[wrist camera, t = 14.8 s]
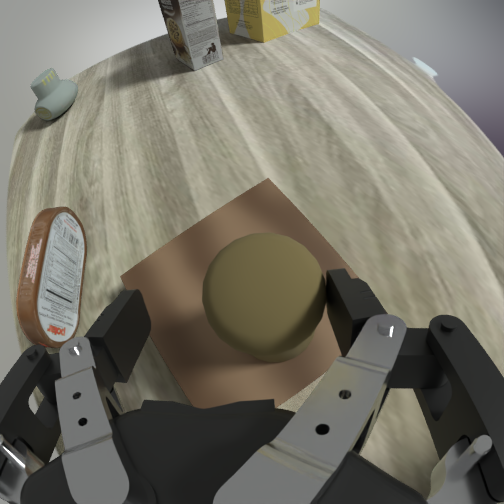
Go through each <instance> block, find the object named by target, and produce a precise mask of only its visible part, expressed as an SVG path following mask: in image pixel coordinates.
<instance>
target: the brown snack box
mask: <svg viewBox="0 0 504 504" xmlns="http://www.w3.org/2000/svg"><path fill="white" fill-rule="evenodd" d="M158 2H159V5H160V8H161V11H162V15H163V17H164V21H165V24H166V28H167V31H168V34H169V38H170V41H171V44H172V47H173V50H174V53H175V57H176V58H177V59H178V60H180V61H181V62H182V63H184V64H185V65H187V66H188V67H190V68H191V69H193V70H194V71H196V70H198V69H200V68H203V67H205V66H207V65H210V64H212V63H215V62H217V61H220V60H222V59H223V53H222V48H221V42H220V36H219V31H218V25H217V19H216V14H215V8H214V3H213V0H158Z"/></svg>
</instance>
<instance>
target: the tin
mask: <svg viewBox="0 0 504 504" xmlns="http://www.w3.org/2000/svg"><path fill="white" fill-rule="evenodd" d="M86 255H87V244H86V236H85V231H84V228H83V225H82V223H81V221H80V220H79V218H78V217H77V216H76V214H75V213H74V212H73V211H72V210H71V209H69V208H68V207H56V208H47V209H44V210H42V211H41V212H40V213H39V214H38V215H37V216H36V217H35V219H34V221H33V223H32V226H31V229H30V233H29V237H28V241H27V245H26V249H25V254H24V258H23V263H22V268H21V273H20V278H19V284H18V290H17V297H16V308H17V316H18V320H19V323H20V326H21V328H22V330H23V332H24V334H25V335H26V337H27V338H28V339H29V340H30V341H31V342H32V343H33V344H35V345H43V346H44V347H51V348H60V347H62V346H63V345H64V344H65V343H66V342H67V341H69V340H70V339H73V338H74V336H75V334H76V331H77V328H78V325H79V318H80V305H81V295H82V286H83V277H84V270H85V263H86Z"/></svg>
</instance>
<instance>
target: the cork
mask: <svg viewBox="0 0 504 504" xmlns="http://www.w3.org/2000/svg"><path fill="white" fill-rule="evenodd" d="M326 301H327V292H326V280H325V277H324V275H323V273H322V270H321V268H320V266H319V264H318V262H317V260H316V259H315V257H314V256H313V255H312V254H311V253H310V252H309V251H308V250H307V248H306V247H305V246H304V245H302V244H300V243H298V242H297V241H295V240H293V239H292V238H290V237H288V236H284V235H279V234H275V233H271V232H268V233H253V234H249V235H247V236H244V237H241V238H238V239H236V240H234V241H232V242H231V243H230V244H228V245H227V246H226V247H224V248H223V249H222V250H220V251H219V253H218V254H217V255H216V257H215V258H214V259H213V261H212V262H211V263H210V265H209V267H208V269H207V272H206V275H205V278H204V280H203V289H202V303H203V306H204V310H205V313H206V317H207V320H208V323H209V324H210V326H211V327H212V328H213V330H214V331H215V333H216V334H217V336H218V337H219V338H220V339H221V340H223V341H224V342H225V343H227V344H228V345H229V346H231V347H232V348H234V349H235V350H238V351H241V352H244V353H247V354H250V355H252V356H254V357H255V358H257V359H259V360H263V361H266V362H270V363H271V362H285V361H287V360H290V359H293V358H295V357H297V356H298V355H299V354H301V353H302V352H303V351H304V350H306V348H307V347H308V345H309V344H310V342H311V341H312V339H313V337H314V333H315V330H316V327H317V326H318V324H319V323H320V321H321V319H322V317H323V313H324V309H325V305H326Z"/></svg>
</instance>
